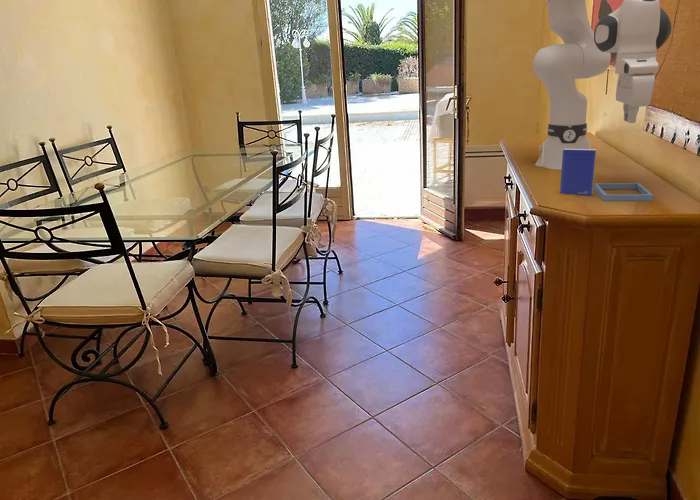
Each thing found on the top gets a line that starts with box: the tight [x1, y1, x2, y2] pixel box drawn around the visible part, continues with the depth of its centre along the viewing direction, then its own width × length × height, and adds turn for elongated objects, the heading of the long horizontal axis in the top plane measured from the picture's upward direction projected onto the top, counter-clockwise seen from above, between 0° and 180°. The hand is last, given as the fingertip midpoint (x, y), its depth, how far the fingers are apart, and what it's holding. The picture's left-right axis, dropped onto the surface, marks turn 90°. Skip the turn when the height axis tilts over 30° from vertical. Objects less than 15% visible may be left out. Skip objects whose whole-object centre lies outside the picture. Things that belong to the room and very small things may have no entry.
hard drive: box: [559, 148, 597, 197], centre depth 147 cm, size 2×8×12 cm, turn 61°
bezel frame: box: [593, 182, 654, 202], centre depth 146 cm, size 14×12×2 cm
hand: (629, 122), depth 140 cm, fingers closed
